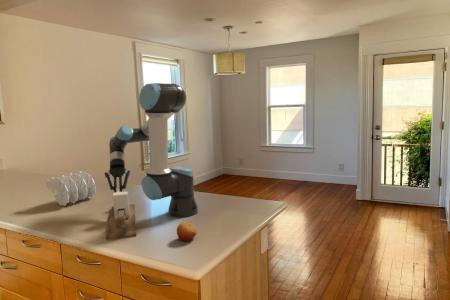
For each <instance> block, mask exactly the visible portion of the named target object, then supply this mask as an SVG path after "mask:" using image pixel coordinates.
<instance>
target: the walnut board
mask: <svg viewBox="0 0 450 300" xmlns="http://www.w3.org/2000/svg"><path fill="white" fill-rule="evenodd" d="M135 207H136V205H135V204H134V203H133V204H129V218H118V219H115V215H114V205H112V206H111V208H110V209H111V210H110V213H109V214H110V215H109V219H108V220H109V221H108V224H107V231H106V236H105V240H106V241H108V240H115V239H116V240H117V239H125V238H132V237H136V236H137V229H136V228H137V226H136V209H135ZM118 212H119V209H118ZM125 212H126V211H125Z"/></svg>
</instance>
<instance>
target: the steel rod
mask: <svg viewBox="0 0 450 300" xmlns="http://www.w3.org/2000/svg"><path fill="white" fill-rule="evenodd" d="M124 216H125V208H122V209H119V212H118V216H117V219H118V218H124Z"/></svg>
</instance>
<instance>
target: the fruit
mask: <svg viewBox="0 0 450 300" xmlns="http://www.w3.org/2000/svg"><path fill="white" fill-rule="evenodd" d="M176 235H177V237H178V239H177V241H179V240H181V241H183V242H189V241H192V240H193V239H194V238H195V237H196V235H197V229H196V227H195V225H194V224H193V223H190V222H189V221H188V222H187V221H183V222H181V223H180V224H178V226H177V228H176Z"/></svg>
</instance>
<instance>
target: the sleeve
mask: <svg viewBox="0 0 450 300" xmlns="http://www.w3.org/2000/svg"><path fill="white" fill-rule="evenodd" d="M112 201H113V206H114V215H115V219H117V216H118V209H122V208H125V211H126V212H125V216H124V218H129V205H130V204H129V191H125V190H124V191H122V192H114V191H113V194H112Z"/></svg>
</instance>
